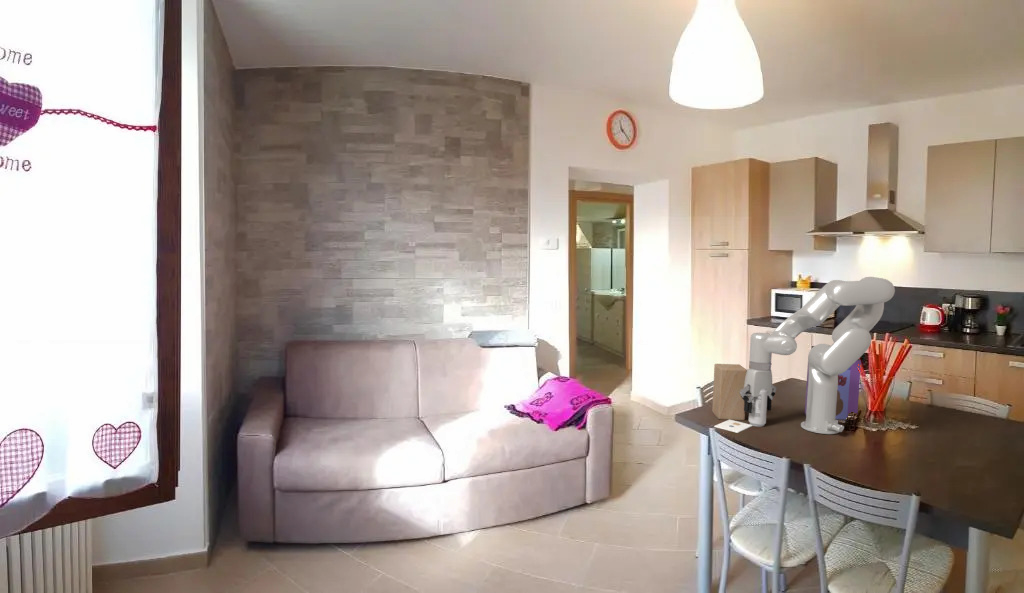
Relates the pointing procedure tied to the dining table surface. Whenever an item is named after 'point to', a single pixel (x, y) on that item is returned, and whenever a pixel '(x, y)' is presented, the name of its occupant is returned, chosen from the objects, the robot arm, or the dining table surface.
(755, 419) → the energy drink can
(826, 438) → the dining table surface
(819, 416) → the robot arm
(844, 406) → the cereal box
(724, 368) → the wooden block
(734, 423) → the white printed card
